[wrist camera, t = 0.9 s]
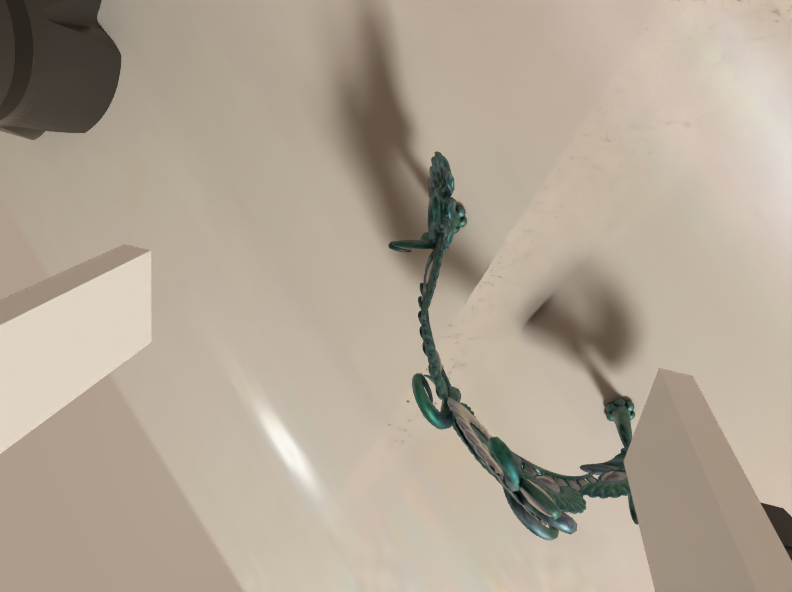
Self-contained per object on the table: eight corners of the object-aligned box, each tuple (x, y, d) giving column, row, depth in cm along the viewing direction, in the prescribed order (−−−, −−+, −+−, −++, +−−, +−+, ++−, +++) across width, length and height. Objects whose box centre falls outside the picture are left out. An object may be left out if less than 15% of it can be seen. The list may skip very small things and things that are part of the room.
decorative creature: (357, 229, 41) (197, 356, 22) (462, 132, 37) (379, 185, 18) (584, 484, 44) (616, 794, 25) (705, 417, 40) (852, 722, 21)
